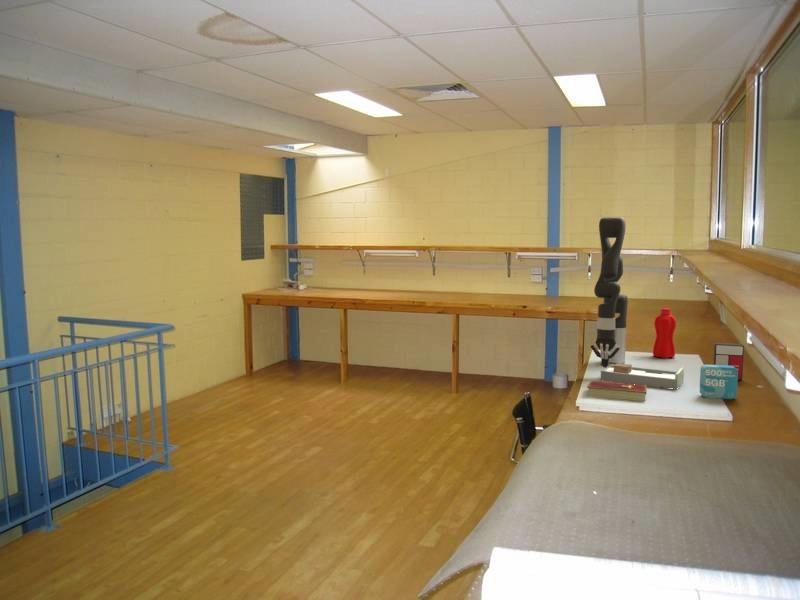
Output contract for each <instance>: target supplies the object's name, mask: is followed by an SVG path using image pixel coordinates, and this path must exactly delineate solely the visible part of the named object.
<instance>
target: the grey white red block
mask: <svg viewBox="0 0 800 600" xmlns="http://www.w3.org/2000/svg"><path fill="white" fill-rule="evenodd" d="M744 352H745V346H744V345H743V344H741V343H740V344H739V343H722V342H714V344H713V363H712V365H727V366H733V367H734V368H736V369H737V370H738V381H743V375H744V374H743V373H744V371H743V370H744V357H745V356H744V354H745V353H744Z"/></svg>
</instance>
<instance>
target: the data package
mask: <svg viewBox="0 0 800 600" xmlns="http://www.w3.org/2000/svg"><path fill="white" fill-rule="evenodd" d="M699 373H700V376H699V393H700V394H701V396H702V397H703V398H705V399H718V398H720V399H723V400H735V399H736V398H737V396H738V382H739V380H738V370H737V369H736V368H734V367H733V366H727V365H713V364H702V365H701V366H700V372H699Z"/></svg>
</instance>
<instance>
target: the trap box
mask: <svg viewBox="0 0 800 600" xmlns="http://www.w3.org/2000/svg"><path fill="white" fill-rule="evenodd" d="M609 365H610V367H607V368H606V369H605V370H601V371H600V380H603V381H602V382H609V381H611V383H623V384H625V383H626V384H635V385H646V386H647V387H651V386H652V387H653V388H659V387H663V388H662V389H667V388H673V389H672V390H676V389H677V388H678V387H679V386H680V387H681V385H682V384H683V383H684V382H683V381H684V380H685V379H684V377H685V369H684V368H685V367H680V369H679V370H678V371H676V370H675V371H674V370H665V369H656V368H646V367H637V366H632V369H631V372H630V373H629V374H625V373H616V372H614V365H615V364H609ZM600 380H599V381H600ZM652 387H651V388H652ZM678 389H679V388H678ZM678 389H677V390H678Z"/></svg>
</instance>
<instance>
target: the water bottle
mask: <svg viewBox="0 0 800 600" xmlns="http://www.w3.org/2000/svg"><path fill="white" fill-rule="evenodd" d="M653 325H654V329H655V335H656V336H655V340H654V344H653V349H652V355H653V357H655V356H656V357H655V358H659V357H661V358H660V359H670V358H669V357H673V358H674V357H675V356H676V348H675V343H674V342H675V341H674V334H675V330H676V326H677V319H676V317H674V316H673V315H672V314H671V308H667V307H666V308H664V307H663V308H661V309H660V314H658V315H657V316H656V317H655V318H654V323H653Z"/></svg>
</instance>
